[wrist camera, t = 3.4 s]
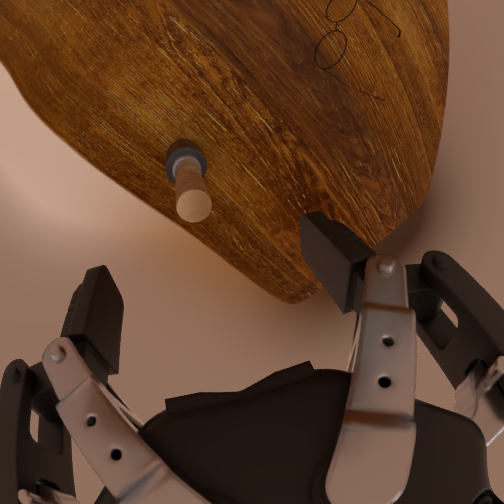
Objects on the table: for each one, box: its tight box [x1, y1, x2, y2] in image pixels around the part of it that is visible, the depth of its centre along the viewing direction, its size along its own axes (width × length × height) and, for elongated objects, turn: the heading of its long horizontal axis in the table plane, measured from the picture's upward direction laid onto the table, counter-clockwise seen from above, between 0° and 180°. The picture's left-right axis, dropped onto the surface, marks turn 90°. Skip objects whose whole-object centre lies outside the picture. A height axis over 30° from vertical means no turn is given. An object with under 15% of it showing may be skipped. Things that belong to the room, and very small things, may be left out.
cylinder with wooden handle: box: [166, 139, 212, 222], centre depth 21 cm, size 4×4×14 cm
